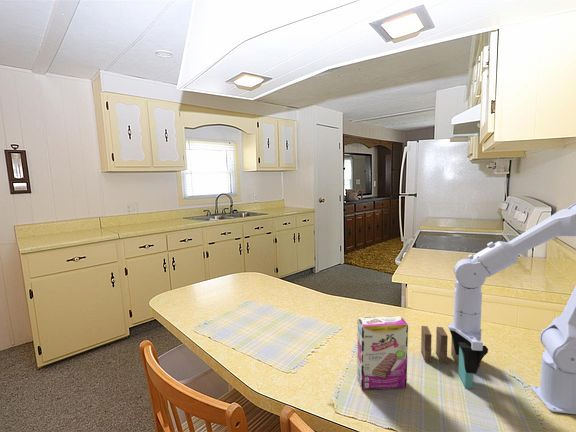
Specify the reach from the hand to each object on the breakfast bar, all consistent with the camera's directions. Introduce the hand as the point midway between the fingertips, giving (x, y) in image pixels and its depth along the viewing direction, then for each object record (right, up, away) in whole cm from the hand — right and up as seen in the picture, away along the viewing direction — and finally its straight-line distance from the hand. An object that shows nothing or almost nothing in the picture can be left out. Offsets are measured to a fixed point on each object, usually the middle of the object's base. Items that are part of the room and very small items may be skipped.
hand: (465, 363), depth 77 cm
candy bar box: (-20, -6, +1) cm, 21 cm away
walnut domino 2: (-1, -4, +11) cm, 12 cm away
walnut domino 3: (+3, -4, +10) cm, 11 cm away
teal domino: (0, -5, +1) cm, 5 cm away
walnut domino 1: (-4, -4, +12) cm, 13 cm away
